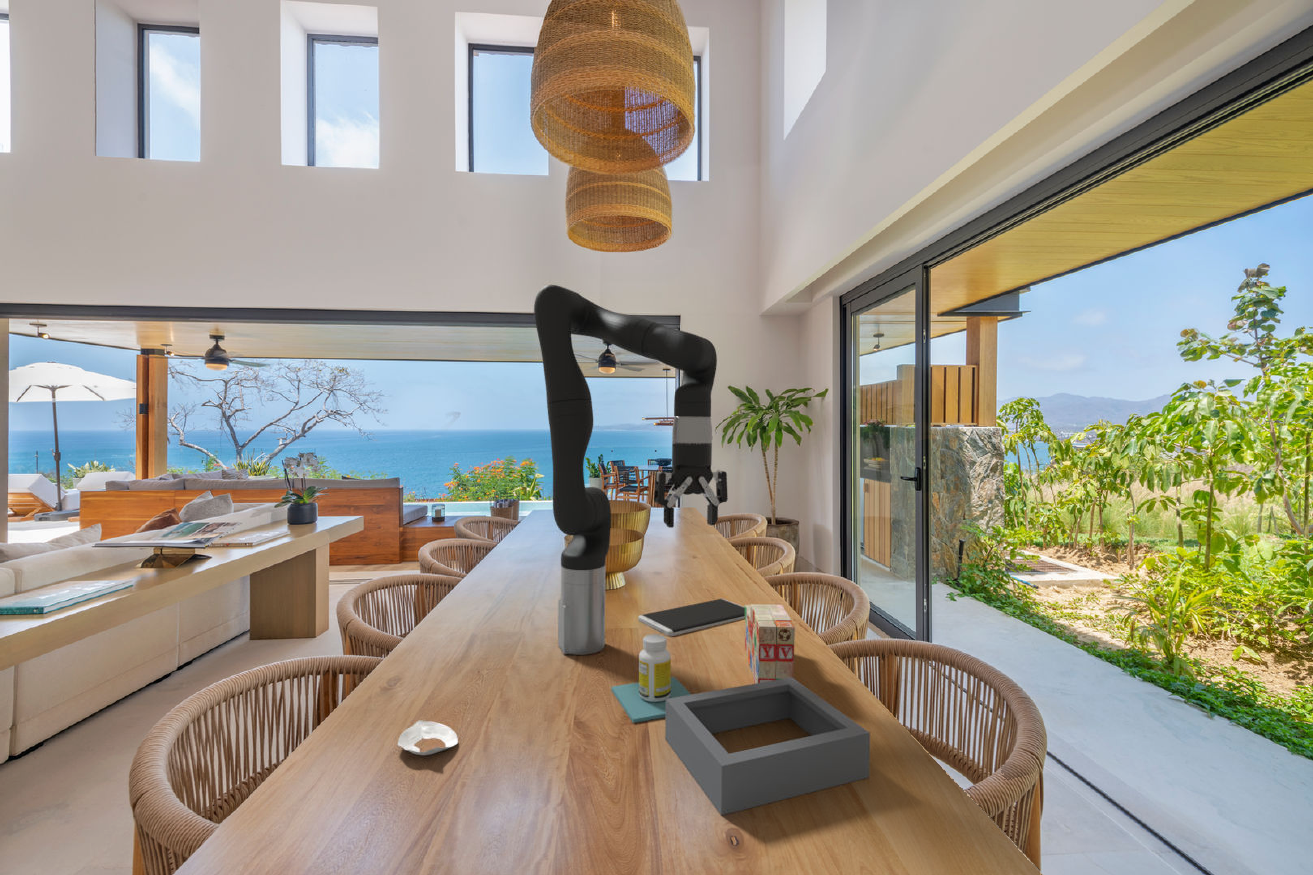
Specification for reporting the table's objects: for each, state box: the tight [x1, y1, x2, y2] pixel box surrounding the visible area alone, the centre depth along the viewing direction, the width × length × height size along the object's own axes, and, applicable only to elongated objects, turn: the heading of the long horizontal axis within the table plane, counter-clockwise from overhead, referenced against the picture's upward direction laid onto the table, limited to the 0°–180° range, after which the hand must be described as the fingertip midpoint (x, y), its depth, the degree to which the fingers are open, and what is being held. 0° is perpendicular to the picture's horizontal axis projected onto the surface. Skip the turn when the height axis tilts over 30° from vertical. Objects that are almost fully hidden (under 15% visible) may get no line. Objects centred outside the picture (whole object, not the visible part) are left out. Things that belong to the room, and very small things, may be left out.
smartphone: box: [637, 598, 745, 637], centre depth 141 cm, size 13×27×2 cm, turn 125°
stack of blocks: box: [744, 603, 796, 684], centre depth 111 cm, size 21×6×12 cm, turn 178°
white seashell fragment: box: [397, 719, 459, 756], centre depth 84 cm, size 8×12×2 cm, turn 33°
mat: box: [610, 676, 692, 724], centre depth 99 cm, size 12×12×1 cm
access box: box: [664, 677, 871, 816], centre depth 82 cm, size 22×18×6 cm
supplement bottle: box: [638, 633, 672, 702], centre depth 99 cm, size 5×5×10 cm
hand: (690, 525), depth 111 cm, fingers open, 8 cm apart
